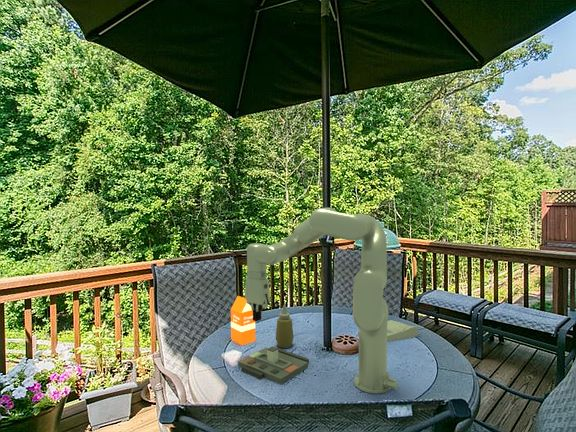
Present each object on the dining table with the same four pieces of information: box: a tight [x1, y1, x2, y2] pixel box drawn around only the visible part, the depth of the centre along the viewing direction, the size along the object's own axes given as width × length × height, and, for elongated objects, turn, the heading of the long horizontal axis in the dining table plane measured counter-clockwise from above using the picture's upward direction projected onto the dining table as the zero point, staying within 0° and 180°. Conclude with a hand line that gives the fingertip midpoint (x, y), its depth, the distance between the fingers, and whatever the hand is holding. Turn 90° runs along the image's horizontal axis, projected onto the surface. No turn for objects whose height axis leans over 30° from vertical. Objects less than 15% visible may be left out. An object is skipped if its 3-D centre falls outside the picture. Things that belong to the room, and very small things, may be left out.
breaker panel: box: [237, 347, 309, 385], centre depth 139 cm, size 22×16×3 cm
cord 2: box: [274, 346, 310, 364], centre depth 147 cm, size 18×2×2 cm, turn 51°
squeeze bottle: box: [275, 305, 295, 349], centre depth 158 cm, size 8×8×18 cm
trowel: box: [357, 319, 419, 343], centre depth 168 cm, size 28×16×5 cm, turn 91°
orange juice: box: [230, 295, 256, 346], centre depth 164 cm, size 8×9×20 cm
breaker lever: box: [267, 346, 279, 363], centre depth 138 cm, size 3×3×5 cm
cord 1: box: [240, 366, 265, 380], centre depth 133 cm, size 10×2×2 cm, turn 51°
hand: (257, 320), depth 143 cm, fingers closed
